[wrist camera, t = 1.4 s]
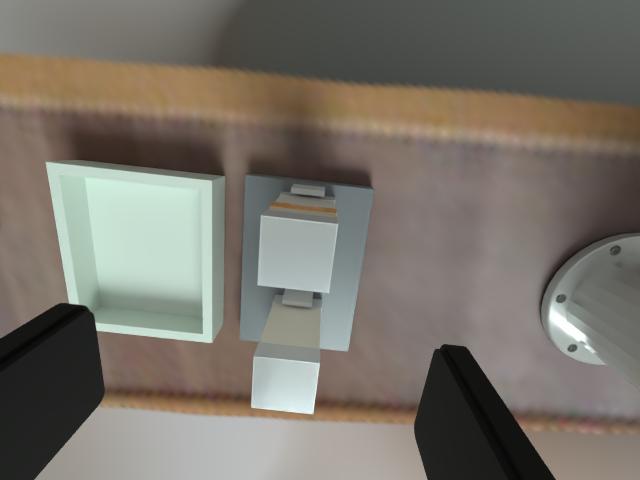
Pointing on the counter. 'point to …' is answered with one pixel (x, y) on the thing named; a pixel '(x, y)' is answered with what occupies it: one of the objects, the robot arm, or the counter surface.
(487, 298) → the counter surface
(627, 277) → the robot arm
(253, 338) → the block
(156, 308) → the tray
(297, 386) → the block
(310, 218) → the block
